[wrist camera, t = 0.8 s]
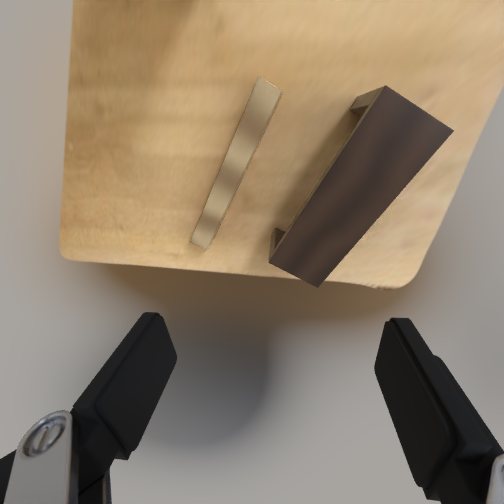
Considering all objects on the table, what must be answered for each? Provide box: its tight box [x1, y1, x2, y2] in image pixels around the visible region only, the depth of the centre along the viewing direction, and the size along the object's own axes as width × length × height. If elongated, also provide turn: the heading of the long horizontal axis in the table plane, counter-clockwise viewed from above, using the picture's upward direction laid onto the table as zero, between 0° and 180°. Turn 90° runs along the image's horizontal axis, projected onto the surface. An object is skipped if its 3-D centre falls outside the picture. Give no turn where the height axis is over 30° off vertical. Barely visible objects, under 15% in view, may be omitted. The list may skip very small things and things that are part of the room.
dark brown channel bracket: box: [268, 86, 454, 287], centre depth 30 cm, size 8×22×9 cm, turn 153°
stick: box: [190, 76, 282, 250], centre depth 33 cm, size 24×3×4 cm, turn 153°
